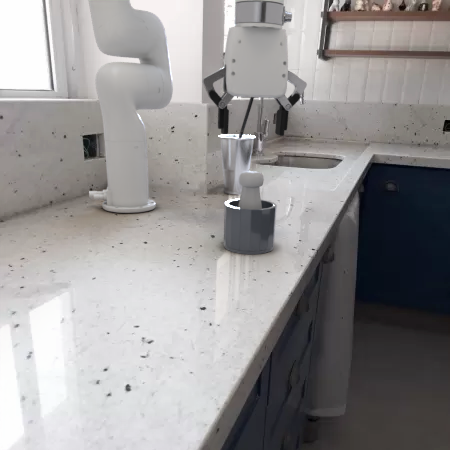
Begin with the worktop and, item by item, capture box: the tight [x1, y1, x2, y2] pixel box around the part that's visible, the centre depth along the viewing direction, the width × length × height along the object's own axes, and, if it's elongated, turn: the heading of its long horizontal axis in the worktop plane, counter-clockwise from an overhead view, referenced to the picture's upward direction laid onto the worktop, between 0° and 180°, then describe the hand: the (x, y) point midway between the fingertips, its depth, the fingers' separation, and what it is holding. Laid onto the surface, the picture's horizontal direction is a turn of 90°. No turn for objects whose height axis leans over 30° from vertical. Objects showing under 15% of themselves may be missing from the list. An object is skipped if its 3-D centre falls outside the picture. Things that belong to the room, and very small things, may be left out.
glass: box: [218, 97, 256, 196], centre depth 131 cm, size 11×11×30 cm
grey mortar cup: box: [223, 198, 278, 255], centre depth 88 cm, size 9×9×8 cm
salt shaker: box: [238, 170, 265, 209], centre depth 87 cm, size 6×6×13 cm
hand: (252, 134), depth 82 cm, fingers open, 9 cm apart
